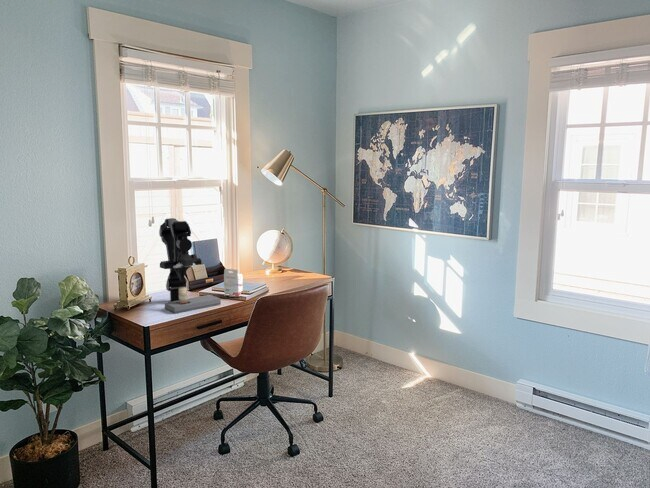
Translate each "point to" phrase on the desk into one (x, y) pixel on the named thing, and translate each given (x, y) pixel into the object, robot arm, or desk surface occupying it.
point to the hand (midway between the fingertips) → (181, 280)
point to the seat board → (193, 304)
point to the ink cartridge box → (233, 282)
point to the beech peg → (183, 295)
